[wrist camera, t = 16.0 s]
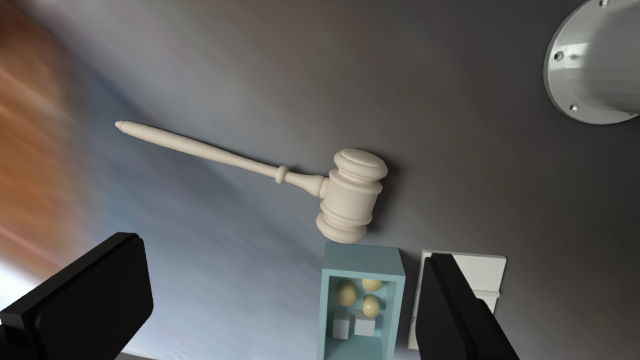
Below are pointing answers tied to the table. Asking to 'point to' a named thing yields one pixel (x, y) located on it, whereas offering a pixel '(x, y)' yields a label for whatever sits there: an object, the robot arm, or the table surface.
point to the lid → (479, 275)
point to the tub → (359, 302)
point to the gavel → (301, 180)
